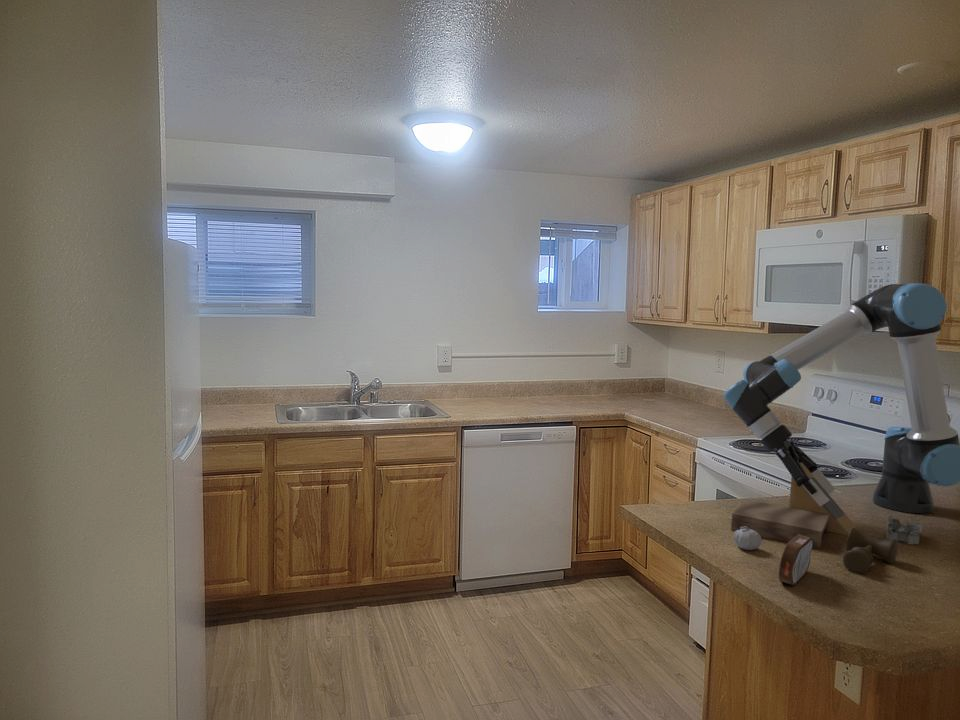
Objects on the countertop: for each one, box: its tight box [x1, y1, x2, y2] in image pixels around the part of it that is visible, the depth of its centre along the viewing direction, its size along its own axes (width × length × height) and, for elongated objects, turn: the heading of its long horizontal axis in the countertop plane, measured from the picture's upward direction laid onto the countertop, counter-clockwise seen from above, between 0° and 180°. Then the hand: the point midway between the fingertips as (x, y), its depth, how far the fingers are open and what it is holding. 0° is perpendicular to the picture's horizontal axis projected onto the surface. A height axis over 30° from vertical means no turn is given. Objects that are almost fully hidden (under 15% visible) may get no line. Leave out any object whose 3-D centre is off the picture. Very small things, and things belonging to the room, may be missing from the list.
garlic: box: [733, 526, 762, 551], centre depth 158 cm, size 6×5×5 cm
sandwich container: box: [788, 462, 859, 537], centre depth 177 cm, size 9×15×15 cm, turn 51°
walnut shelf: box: [730, 499, 830, 550], centre depth 171 cm, size 20×16×4 cm
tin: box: [778, 534, 813, 586], centre depth 141 cm, size 15×3×8 cm, turn 140°
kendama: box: [842, 527, 899, 575], centre depth 153 cm, size 6×10×20 cm
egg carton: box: [885, 514, 924, 545], centre depth 171 cm, size 11×8×4 cm
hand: (828, 497), depth 177 cm, fingers open, 13 cm apart
